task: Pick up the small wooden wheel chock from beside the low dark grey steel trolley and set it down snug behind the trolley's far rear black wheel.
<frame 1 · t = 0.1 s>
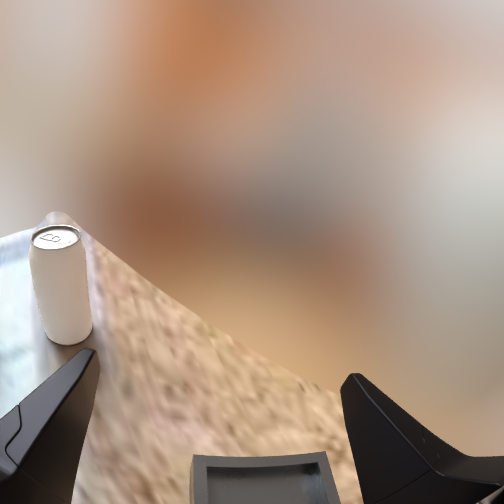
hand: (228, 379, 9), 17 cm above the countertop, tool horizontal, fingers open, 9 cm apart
can: (68, 329, 27), on the countertop
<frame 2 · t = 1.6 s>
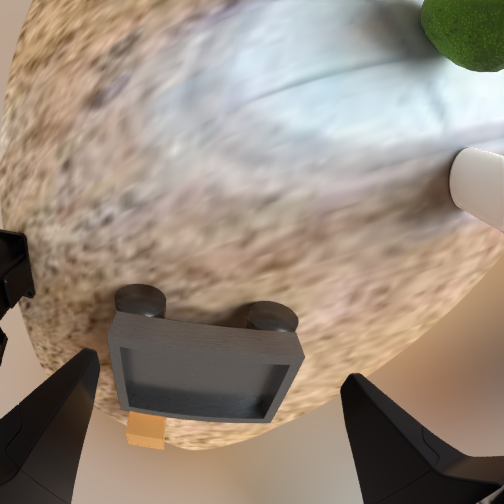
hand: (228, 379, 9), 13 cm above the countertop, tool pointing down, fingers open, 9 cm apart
can: (465, 177, 21), on the countertop
trolley: (201, 333, 24), on the countertop
avocado: (432, 34, 14), on the countertop
chock: (149, 393, 28), on the countertop
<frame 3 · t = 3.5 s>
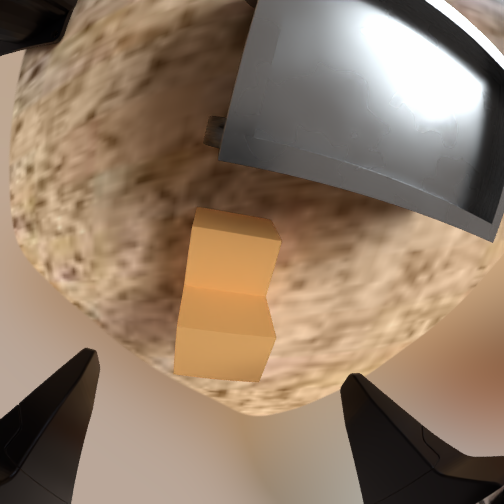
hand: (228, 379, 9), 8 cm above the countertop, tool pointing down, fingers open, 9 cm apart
trolley: (357, 97, 13), on the countertop
chock: (224, 262, 16), on the countertop
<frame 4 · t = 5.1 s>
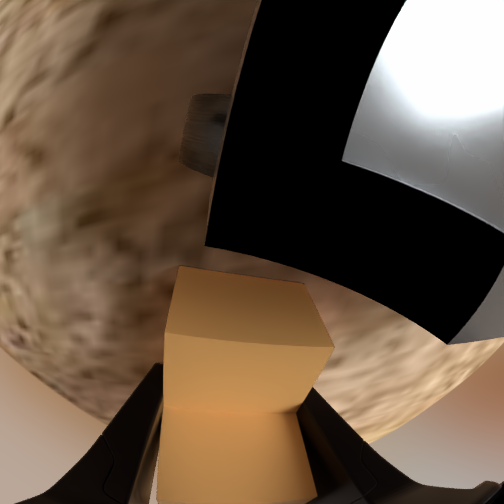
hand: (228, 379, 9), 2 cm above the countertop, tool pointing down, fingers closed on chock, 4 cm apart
trolley: (440, 88, 6), on the countertop
chock: (227, 344, 10), on the countertop, touching gripper
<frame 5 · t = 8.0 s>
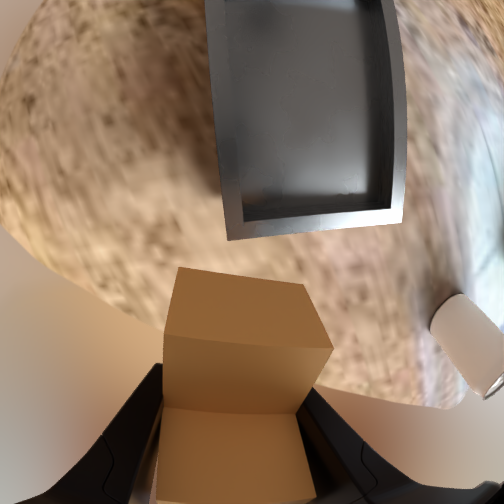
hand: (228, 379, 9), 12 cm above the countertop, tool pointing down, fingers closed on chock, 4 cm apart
can: (447, 313, 27), on the countertop
trolley: (286, 98, 16), on the countertop
chock: (226, 345, 10), point 11 cm above the countertop, touching gripper
when the fingers open (2 cm above the countertop, at t = 10.8 s): chock drops 1 cm, on the countertop.
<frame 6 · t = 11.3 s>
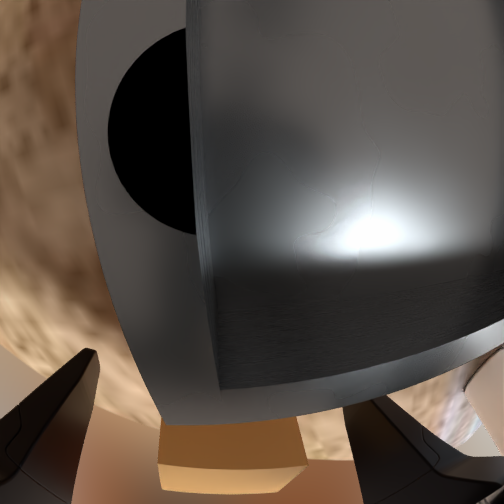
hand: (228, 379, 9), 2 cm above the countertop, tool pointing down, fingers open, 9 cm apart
can: (485, 369, 18), on the countertop
trolley: (330, 35, 6), on the countertop
chock: (225, 326, 11), on the countertop
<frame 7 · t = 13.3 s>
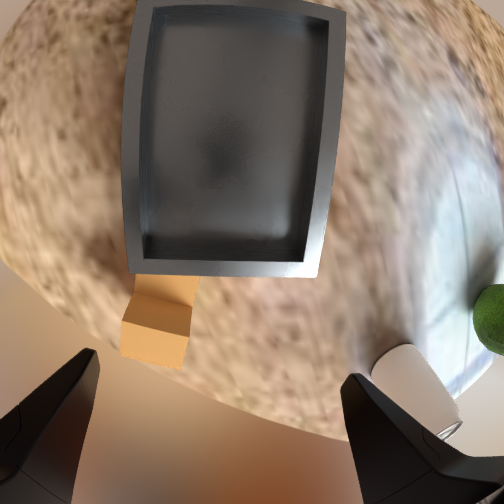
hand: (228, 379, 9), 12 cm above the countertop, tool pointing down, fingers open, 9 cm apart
can: (392, 361, 28), on the countertop
trolley: (226, 130, 16), on the countertop
avocado: (478, 297, 26), on the countertop
chock: (168, 276, 20), on the countertop
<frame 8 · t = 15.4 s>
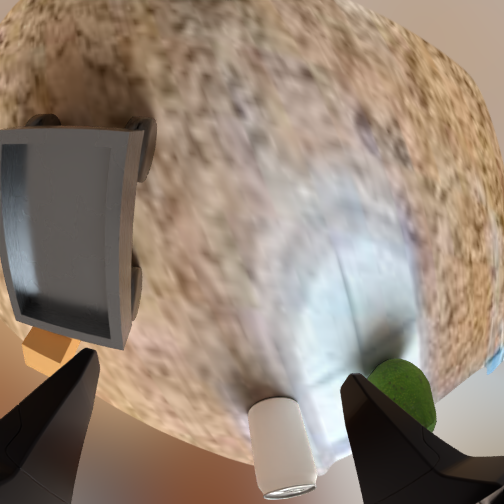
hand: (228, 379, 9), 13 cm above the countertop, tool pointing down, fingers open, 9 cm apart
can: (272, 408, 31), on the countertop
trolley: (92, 211, 18), on the countertop
avocado: (380, 366, 30), on the countertop
chock: (65, 311, 22), on the countertop
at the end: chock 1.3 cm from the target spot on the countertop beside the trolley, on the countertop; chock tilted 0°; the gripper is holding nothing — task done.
